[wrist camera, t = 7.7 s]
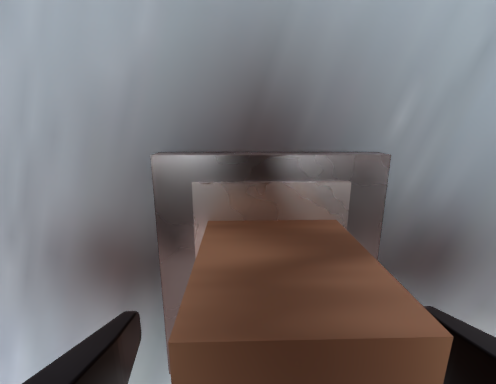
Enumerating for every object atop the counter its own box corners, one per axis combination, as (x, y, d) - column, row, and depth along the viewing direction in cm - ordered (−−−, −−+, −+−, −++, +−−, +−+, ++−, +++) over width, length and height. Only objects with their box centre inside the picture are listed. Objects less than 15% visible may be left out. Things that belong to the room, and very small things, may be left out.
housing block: (336, 219, 11) (460, 343, 5) (327, 328, 12) (415, 535, 6) (208, 221, 10) (165, 350, 4) (212, 330, 12) (183, 545, 6)
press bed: (378, 152, 11) (394, 155, 10) (354, 351, 14) (364, 373, 12) (158, 152, 11) (148, 155, 10) (174, 355, 13) (168, 377, 12)
